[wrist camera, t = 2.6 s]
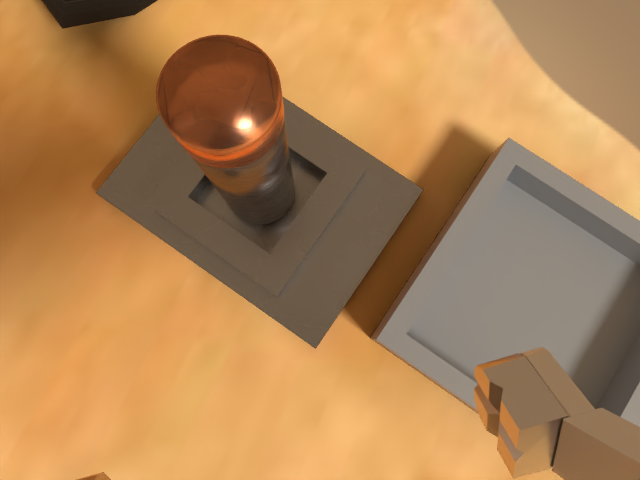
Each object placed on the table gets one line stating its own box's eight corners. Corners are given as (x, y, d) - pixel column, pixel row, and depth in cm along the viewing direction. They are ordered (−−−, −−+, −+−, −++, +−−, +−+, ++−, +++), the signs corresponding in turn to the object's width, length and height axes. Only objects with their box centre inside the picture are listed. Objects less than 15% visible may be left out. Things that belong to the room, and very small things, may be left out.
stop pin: (211, 199, 25) (130, 105, 14) (252, 144, 25) (206, 13, 15) (268, 239, 25) (231, 174, 14) (309, 182, 25) (305, 77, 14)
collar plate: (101, 195, 25) (85, 186, 24) (213, 55, 27) (206, 36, 25) (315, 348, 24) (315, 350, 22) (420, 192, 26) (428, 183, 24)
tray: (369, 337, 24) (376, 339, 22) (490, 154, 26) (508, 137, 24) (572, 479, 23) (603, 498, 21) (683, 279, 25) (723, 274, 23)
